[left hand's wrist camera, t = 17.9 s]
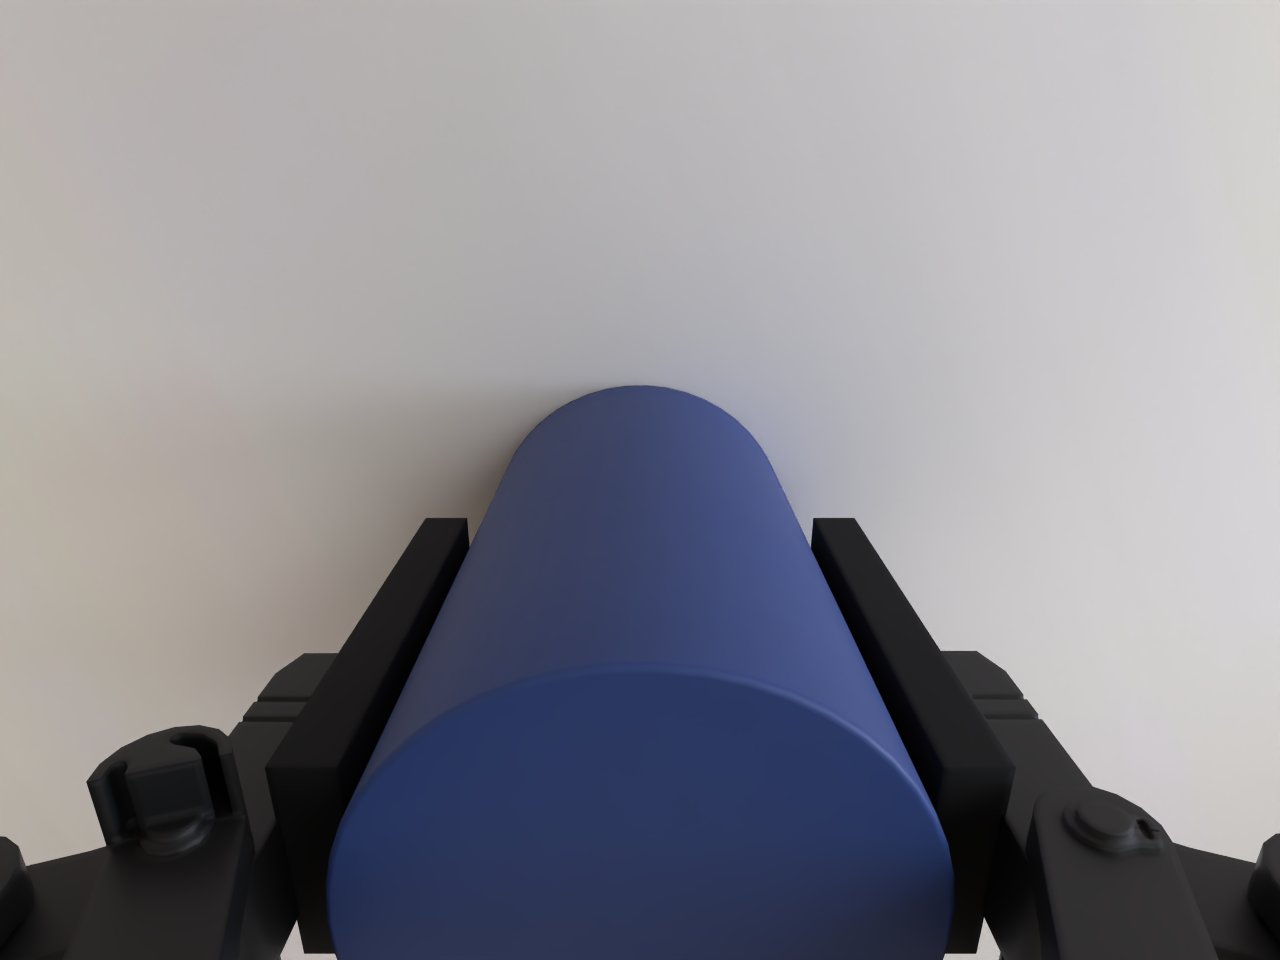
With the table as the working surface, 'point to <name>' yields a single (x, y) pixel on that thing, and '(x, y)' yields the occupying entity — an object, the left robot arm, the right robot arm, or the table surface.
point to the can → (640, 728)
